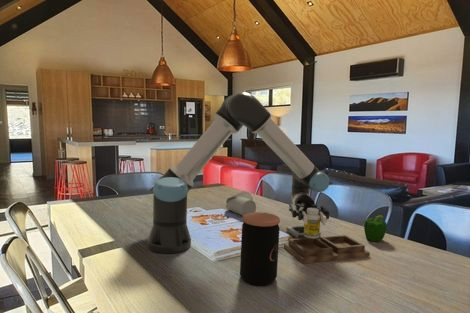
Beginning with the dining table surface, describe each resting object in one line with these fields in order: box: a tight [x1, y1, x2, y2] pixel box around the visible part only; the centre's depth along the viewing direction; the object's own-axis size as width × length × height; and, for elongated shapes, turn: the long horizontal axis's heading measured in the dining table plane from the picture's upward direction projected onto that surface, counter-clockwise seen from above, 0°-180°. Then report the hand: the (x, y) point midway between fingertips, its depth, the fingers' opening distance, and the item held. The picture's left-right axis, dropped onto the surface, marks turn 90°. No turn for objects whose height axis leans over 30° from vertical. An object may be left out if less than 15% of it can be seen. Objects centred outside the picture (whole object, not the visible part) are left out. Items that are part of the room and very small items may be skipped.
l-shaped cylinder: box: [225, 190, 257, 217], centre depth 164 cm, size 18×11×20 cm
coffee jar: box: [239, 211, 281, 287], centre depth 93 cm, size 11×11×18 cm
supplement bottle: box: [303, 208, 321, 239], centre depth 113 cm, size 5×5×10 cm
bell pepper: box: [363, 215, 388, 243], centre depth 130 cm, size 8×8×10 cm
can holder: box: [285, 225, 322, 239], centre depth 133 cm, size 10×10×2 cm
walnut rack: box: [283, 234, 371, 264], centre depth 115 cm, size 26×14×4 cm, turn 108°
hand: (315, 220), depth 107 cm, fingers closed on supplement bottle, 5 cm apart
